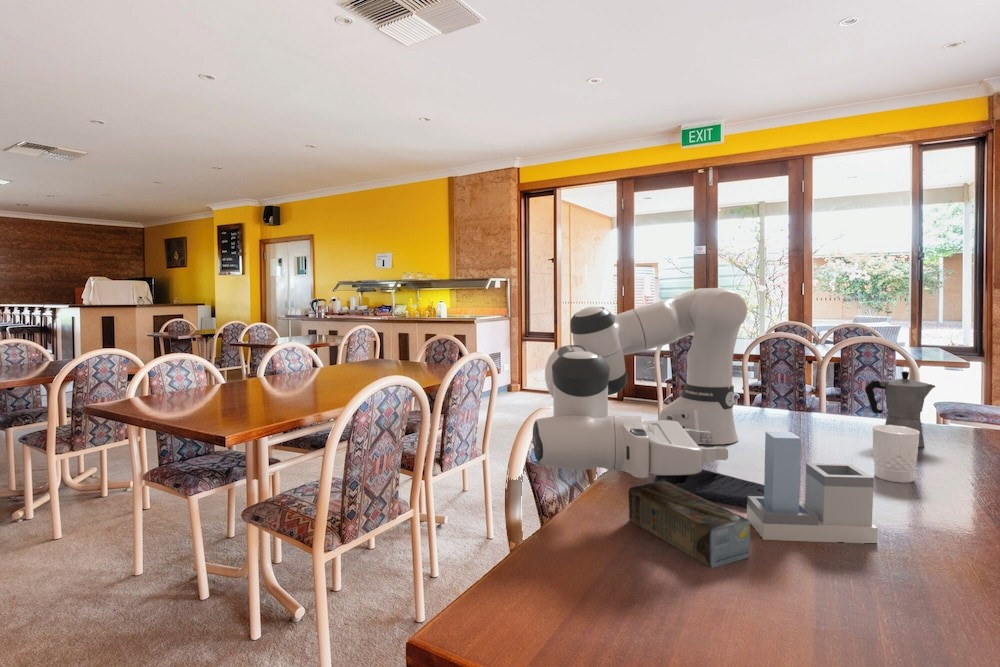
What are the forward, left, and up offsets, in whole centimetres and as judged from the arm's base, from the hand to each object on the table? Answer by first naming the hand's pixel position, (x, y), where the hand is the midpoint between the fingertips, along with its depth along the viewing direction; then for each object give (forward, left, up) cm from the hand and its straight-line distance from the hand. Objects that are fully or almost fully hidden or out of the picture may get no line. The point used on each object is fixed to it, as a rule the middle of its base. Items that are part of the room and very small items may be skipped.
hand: (719, 444), depth 94 cm
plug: (+7, +7, -11) cm, 15 cm away
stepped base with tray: (+10, +10, -14) cm, 20 cm away
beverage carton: (-1, -7, -14) cm, 16 cm away
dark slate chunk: (-11, +16, -14) cm, 24 cm away
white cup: (+9, +50, -14) cm, 53 cm away
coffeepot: (0, +81, -14) cm, 82 cm away
